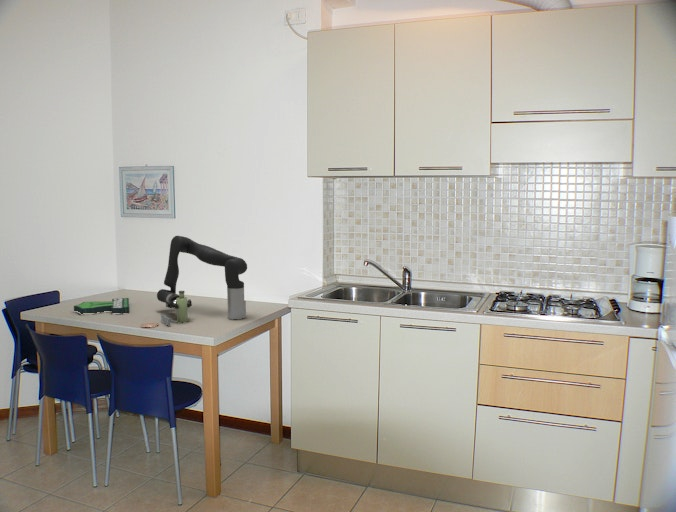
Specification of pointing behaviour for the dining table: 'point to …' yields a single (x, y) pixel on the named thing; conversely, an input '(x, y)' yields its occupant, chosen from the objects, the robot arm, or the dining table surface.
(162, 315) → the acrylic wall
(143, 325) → the coaster
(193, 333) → the dining table surface
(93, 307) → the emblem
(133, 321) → the dining table surface
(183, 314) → the bottle
